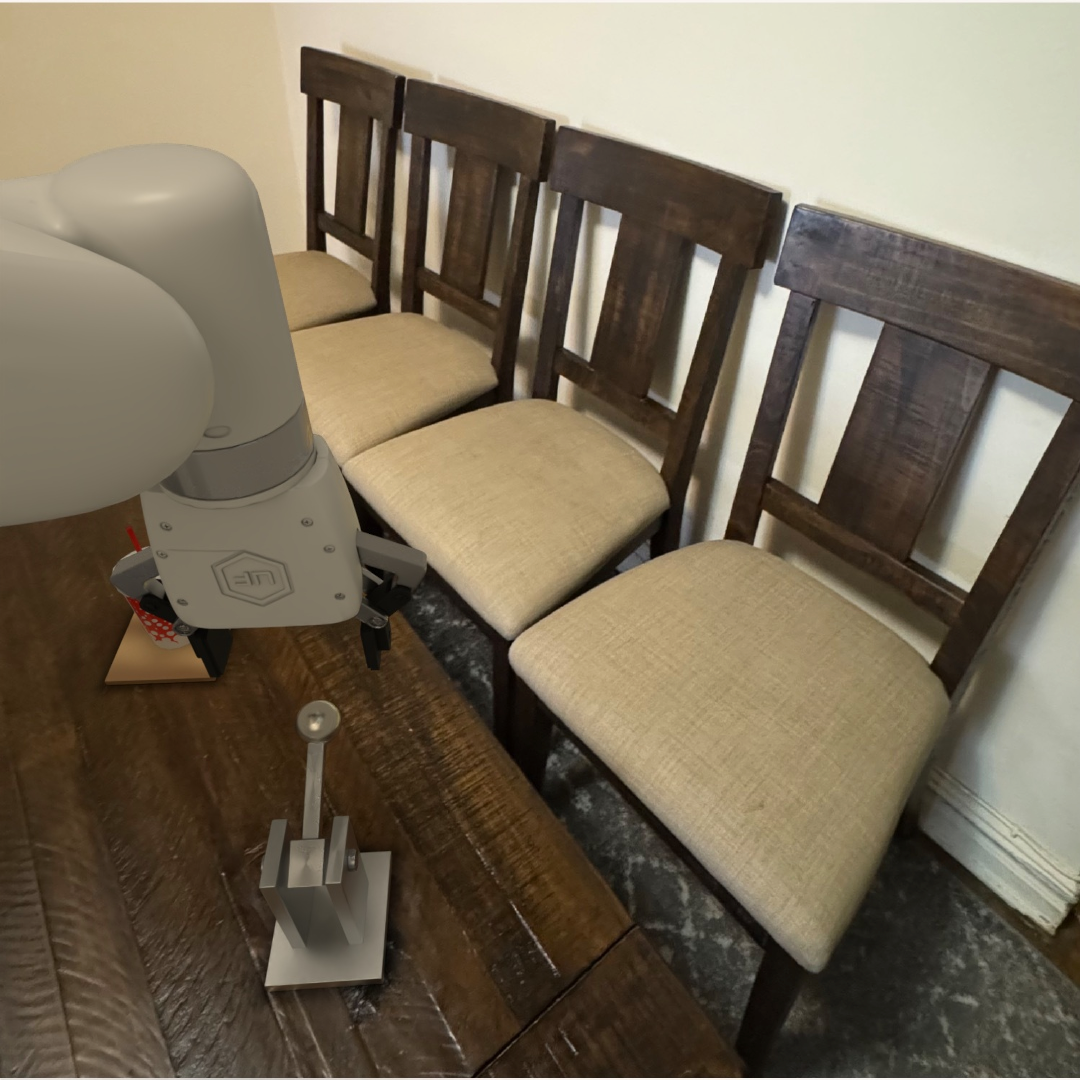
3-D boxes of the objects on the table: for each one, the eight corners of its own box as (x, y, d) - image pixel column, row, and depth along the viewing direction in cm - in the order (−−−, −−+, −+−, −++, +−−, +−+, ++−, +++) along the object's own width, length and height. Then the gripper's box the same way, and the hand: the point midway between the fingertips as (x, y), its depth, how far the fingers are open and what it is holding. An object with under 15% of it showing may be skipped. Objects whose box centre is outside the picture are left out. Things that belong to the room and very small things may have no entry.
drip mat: (215, 681, 71) (213, 677, 70) (106, 685, 70) (104, 681, 70) (243, 589, 79) (241, 585, 79) (146, 592, 79) (144, 588, 78)
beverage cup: (220, 631, 74) (178, 528, 65) (161, 666, 71) (108, 562, 61) (191, 599, 77) (146, 495, 68) (133, 630, 74) (77, 527, 64)
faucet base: (289, 863, 58) (255, 788, 50) (392, 857, 59) (375, 782, 51) (267, 991, 52) (224, 929, 44) (383, 983, 52) (361, 920, 44)
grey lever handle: (302, 704, 54) (291, 696, 51) (346, 702, 54) (338, 694, 51) (290, 886, 49) (277, 888, 46) (338, 883, 50) (329, 885, 47)
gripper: (7, 491, 32) (141, 712, 44) (408, 481, 34) (434, 698, 45) (73, 396, 38) (176, 616, 50) (415, 391, 39) (437, 606, 51)
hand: (300, 655), depth 47 cm, fingers open, 9 cm apart
